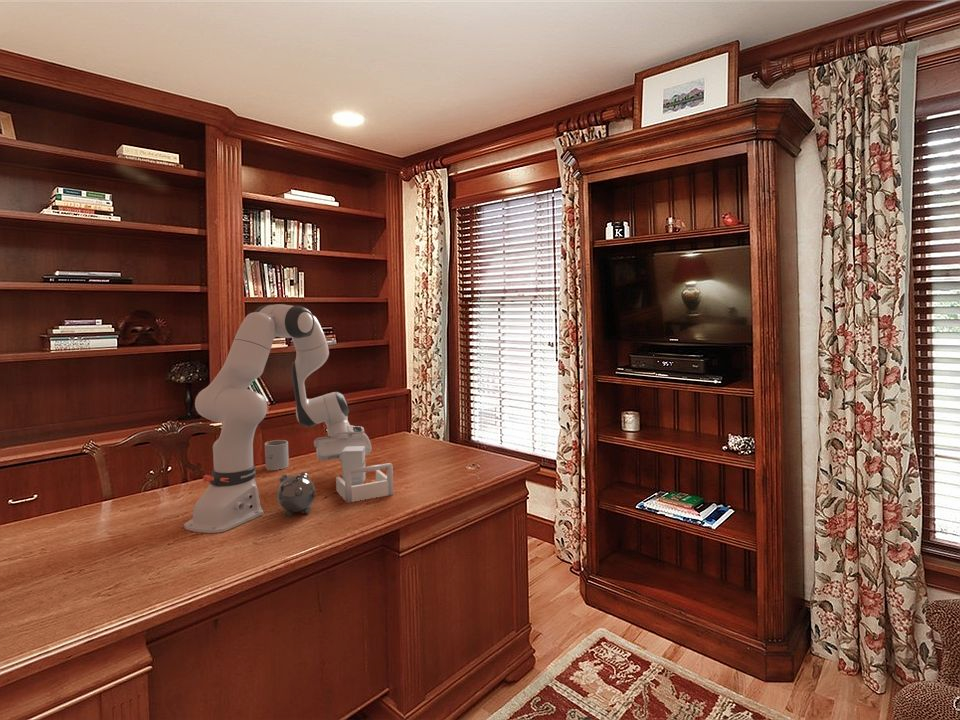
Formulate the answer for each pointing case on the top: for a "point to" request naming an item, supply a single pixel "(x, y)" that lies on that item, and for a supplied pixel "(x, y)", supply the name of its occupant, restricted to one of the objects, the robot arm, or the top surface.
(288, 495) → the piggy bank
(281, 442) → the printed ceramic cup
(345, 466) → the supplement box
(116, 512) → the top surface
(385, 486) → the frame
